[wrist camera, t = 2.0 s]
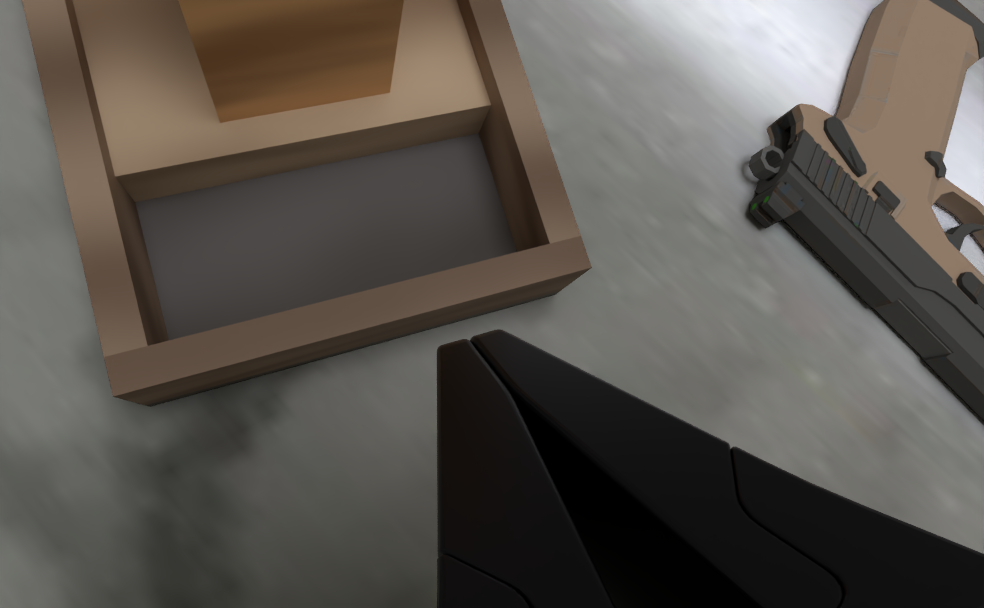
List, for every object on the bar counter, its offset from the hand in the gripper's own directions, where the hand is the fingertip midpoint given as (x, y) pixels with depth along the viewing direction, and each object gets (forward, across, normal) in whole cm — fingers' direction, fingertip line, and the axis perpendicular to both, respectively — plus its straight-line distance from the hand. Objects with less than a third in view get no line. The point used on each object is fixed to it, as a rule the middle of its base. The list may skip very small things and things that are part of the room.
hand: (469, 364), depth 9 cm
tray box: (+21, 0, -2) cm, 21 cm away
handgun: (+10, -25, +10) cm, 28 cm away
